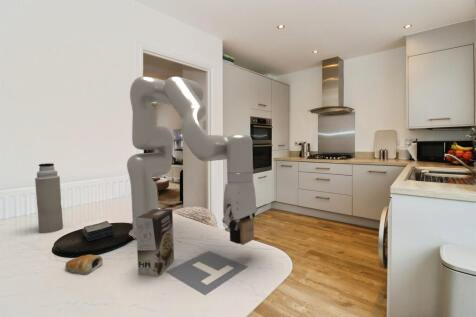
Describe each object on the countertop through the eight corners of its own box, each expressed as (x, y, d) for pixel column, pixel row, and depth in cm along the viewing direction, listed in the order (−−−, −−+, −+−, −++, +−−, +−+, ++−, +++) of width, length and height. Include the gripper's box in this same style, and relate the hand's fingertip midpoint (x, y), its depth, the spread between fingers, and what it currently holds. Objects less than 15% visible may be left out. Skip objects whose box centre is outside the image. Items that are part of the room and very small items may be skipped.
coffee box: (159, 279, 62) (156, 218, 61) (137, 276, 64) (134, 217, 62) (175, 261, 71) (173, 208, 70) (155, 260, 72) (153, 207, 71)
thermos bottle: (58, 225, 106) (53, 162, 104) (66, 228, 102) (62, 163, 100) (35, 231, 99) (30, 164, 97) (43, 234, 95) (38, 164, 93)
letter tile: (165, 273, 65) (165, 271, 65) (209, 252, 77) (208, 250, 77) (205, 297, 54) (205, 295, 54) (248, 268, 67) (248, 266, 67)
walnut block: (229, 240, 70) (229, 220, 69) (240, 235, 74) (240, 216, 73) (243, 245, 67) (242, 224, 66) (253, 239, 70) (253, 219, 70)
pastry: (58, 273, 66) (57, 260, 66) (77, 261, 73) (77, 249, 72) (88, 276, 65) (88, 262, 64) (106, 263, 71) (105, 251, 71)
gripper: (248, 173, 78) (249, 228, 79) (209, 180, 65) (211, 245, 66) (267, 175, 73) (268, 233, 74) (230, 183, 60) (232, 253, 61)
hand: (241, 238), depth 70 cm, fingers closed on walnut block, 5 cm apart
